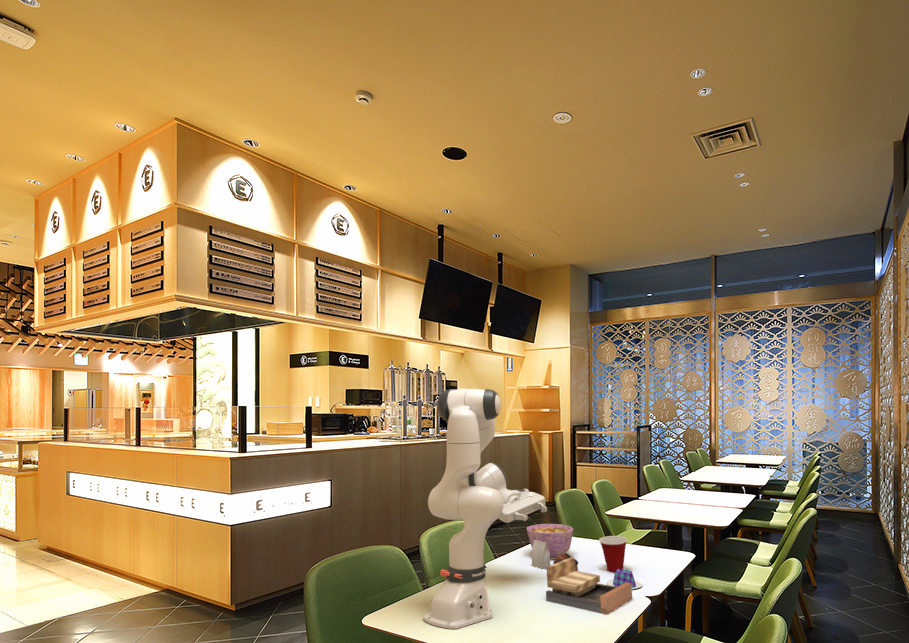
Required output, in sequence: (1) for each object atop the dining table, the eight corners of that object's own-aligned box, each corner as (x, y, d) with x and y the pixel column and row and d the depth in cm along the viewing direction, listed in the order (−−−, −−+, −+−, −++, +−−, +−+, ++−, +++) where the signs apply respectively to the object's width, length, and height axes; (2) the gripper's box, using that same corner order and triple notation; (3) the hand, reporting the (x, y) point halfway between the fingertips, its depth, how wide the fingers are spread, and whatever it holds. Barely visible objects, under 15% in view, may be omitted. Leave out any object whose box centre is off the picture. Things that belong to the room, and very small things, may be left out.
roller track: (607, 614, 184) (606, 597, 184) (546, 600, 198) (545, 584, 199) (632, 599, 197) (631, 583, 198) (573, 587, 212) (573, 572, 212)
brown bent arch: (554, 569, 237) (564, 550, 238) (574, 583, 232) (584, 564, 232) (543, 568, 228) (553, 548, 229) (563, 583, 222) (573, 563, 223)
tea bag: (543, 569, 235) (542, 543, 237) (532, 566, 241) (530, 540, 242) (550, 568, 237) (549, 542, 239) (538, 564, 243) (537, 539, 244)
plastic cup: (594, 571, 232) (593, 538, 233) (610, 565, 239) (609, 534, 240) (619, 576, 224) (616, 543, 225) (634, 570, 231) (632, 538, 232)
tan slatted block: (576, 600, 192) (575, 572, 193) (547, 594, 199) (546, 567, 200) (600, 588, 204) (598, 561, 205) (572, 582, 211) (570, 557, 212)
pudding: (648, 586, 212) (647, 570, 213) (629, 593, 204) (628, 577, 205) (619, 579, 221) (618, 564, 222) (600, 586, 213) (599, 570, 214)
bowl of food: (548, 548, 270) (547, 522, 271) (584, 556, 254) (582, 528, 256) (517, 556, 257) (516, 528, 259) (553, 565, 242) (551, 535, 243)
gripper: (488, 503, 218) (514, 515, 207) (529, 487, 230) (555, 497, 219) (489, 520, 218) (515, 532, 207) (530, 502, 231) (556, 513, 219)
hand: (536, 514), depth 213 cm, fingers open, 8 cm apart
